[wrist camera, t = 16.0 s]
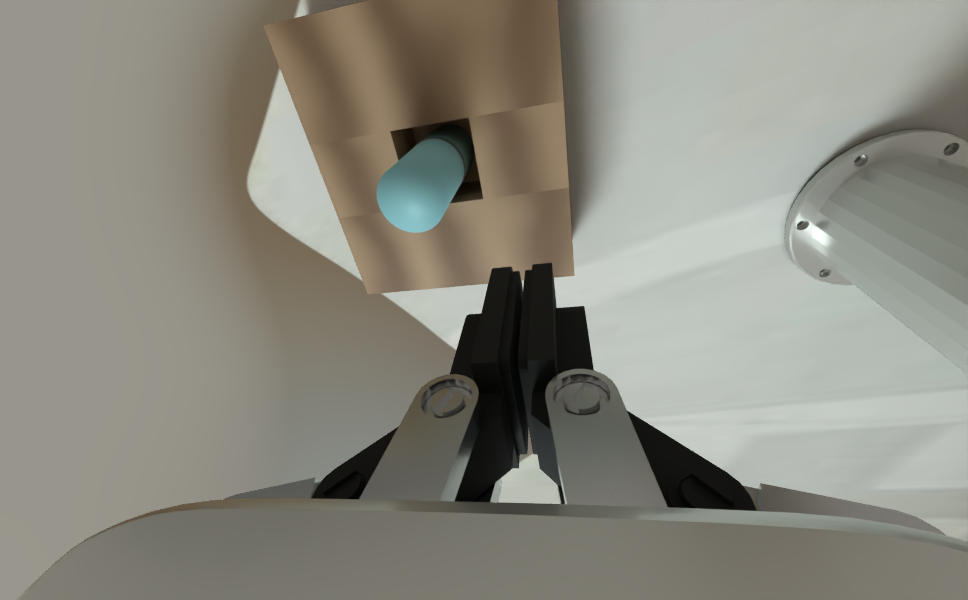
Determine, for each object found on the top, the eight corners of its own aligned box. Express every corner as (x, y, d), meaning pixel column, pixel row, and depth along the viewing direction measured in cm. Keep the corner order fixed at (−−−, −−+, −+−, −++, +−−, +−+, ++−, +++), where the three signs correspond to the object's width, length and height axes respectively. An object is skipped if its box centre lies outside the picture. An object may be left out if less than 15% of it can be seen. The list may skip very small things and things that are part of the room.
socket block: (552, -31, 26) (554, -46, 21) (569, 243, 37) (574, 275, 32) (309, 27, 30) (263, 25, 25) (389, 262, 40) (368, 294, 35)
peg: (470, 119, 31) (436, 158, 21) (479, 171, 33) (453, 229, 23) (420, 127, 32) (365, 169, 22) (432, 178, 34) (388, 237, 24)
